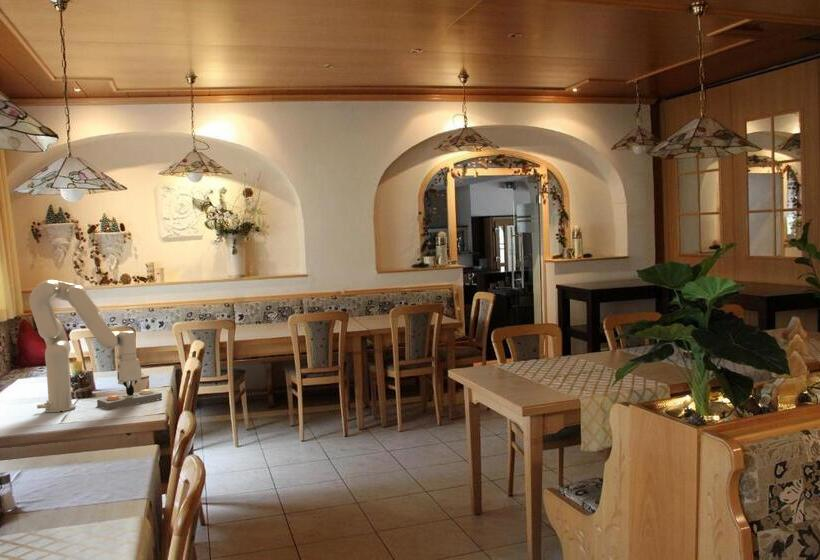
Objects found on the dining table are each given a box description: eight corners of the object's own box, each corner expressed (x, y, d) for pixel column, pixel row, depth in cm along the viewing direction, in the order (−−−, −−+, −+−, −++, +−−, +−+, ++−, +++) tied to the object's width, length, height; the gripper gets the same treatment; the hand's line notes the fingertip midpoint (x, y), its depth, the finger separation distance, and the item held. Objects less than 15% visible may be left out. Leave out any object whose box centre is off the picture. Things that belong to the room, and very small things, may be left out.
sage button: (127, 402, 328) (127, 396, 328) (122, 401, 332) (122, 395, 332) (137, 400, 332) (137, 394, 332) (132, 399, 335) (132, 393, 335)
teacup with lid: (151, 394, 350) (150, 371, 349) (132, 396, 346) (130, 373, 345) (147, 390, 360) (146, 367, 360) (129, 392, 356) (128, 369, 356)
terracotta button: (110, 404, 323) (110, 397, 322) (105, 402, 326) (105, 396, 326) (121, 402, 326) (120, 395, 326) (116, 400, 330) (116, 394, 329)
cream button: (143, 397, 334) (143, 391, 334) (138, 396, 338) (138, 390, 337) (153, 396, 338) (153, 390, 338) (148, 394, 341) (148, 388, 341)
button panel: (108, 409, 318) (108, 403, 318) (97, 405, 327) (97, 399, 326) (161, 399, 337) (161, 393, 337) (150, 395, 345) (150, 389, 345)
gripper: (116, 359, 323) (118, 399, 324) (146, 355, 334) (148, 393, 335) (109, 358, 328) (111, 396, 329) (139, 354, 339) (141, 391, 340)
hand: (130, 394), depth 332 cm, fingers closed
